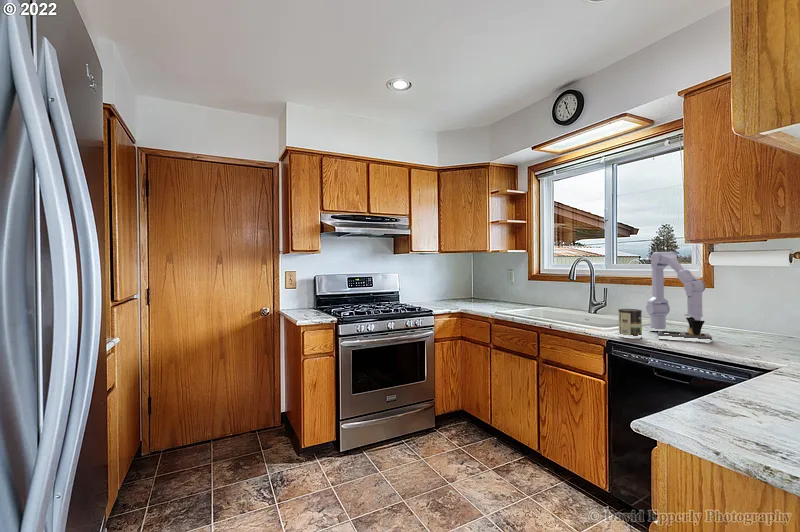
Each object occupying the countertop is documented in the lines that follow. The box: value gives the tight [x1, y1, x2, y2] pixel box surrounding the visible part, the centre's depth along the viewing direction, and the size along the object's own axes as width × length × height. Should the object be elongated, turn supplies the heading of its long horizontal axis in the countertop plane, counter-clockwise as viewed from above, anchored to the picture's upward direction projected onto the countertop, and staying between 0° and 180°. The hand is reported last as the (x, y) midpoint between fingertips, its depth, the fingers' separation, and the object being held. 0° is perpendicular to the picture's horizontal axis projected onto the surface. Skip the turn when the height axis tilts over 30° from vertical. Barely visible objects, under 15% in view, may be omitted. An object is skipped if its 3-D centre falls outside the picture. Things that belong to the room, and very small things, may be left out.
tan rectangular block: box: [686, 327, 702, 336], centre depth 186 cm, size 4×4×6 cm
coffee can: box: [618, 308, 643, 336], centre depth 196 cm, size 10×10×14 cm
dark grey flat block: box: [657, 330, 713, 341], centre depth 189 cm, size 10×20×3 cm, turn 59°
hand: (695, 333), depth 186 cm, fingers open, 7 cm apart
